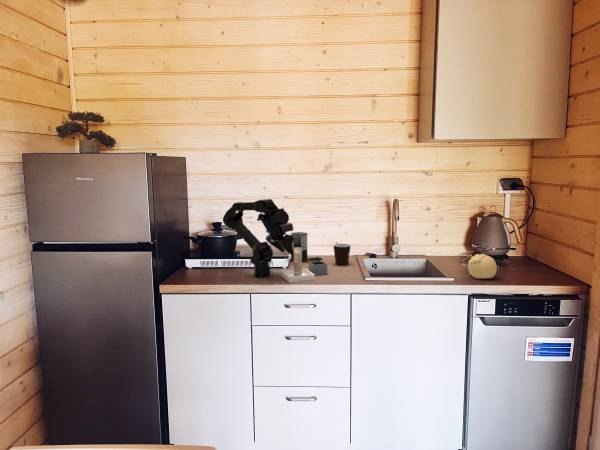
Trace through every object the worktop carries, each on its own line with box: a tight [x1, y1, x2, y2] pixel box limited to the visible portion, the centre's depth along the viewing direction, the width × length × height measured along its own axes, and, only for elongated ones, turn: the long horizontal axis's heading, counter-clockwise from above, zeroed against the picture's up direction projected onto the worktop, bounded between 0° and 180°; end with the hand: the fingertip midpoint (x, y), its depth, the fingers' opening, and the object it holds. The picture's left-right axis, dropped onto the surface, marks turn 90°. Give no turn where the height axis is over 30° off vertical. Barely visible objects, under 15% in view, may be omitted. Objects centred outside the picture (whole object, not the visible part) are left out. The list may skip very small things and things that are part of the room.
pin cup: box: [308, 260, 328, 277], centre depth 210 cm, size 7×7×5 cm
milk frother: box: [290, 231, 323, 263], centre depth 235 cm, size 14×16×15 cm
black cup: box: [333, 243, 351, 267], centre depth 228 cm, size 12×9×10 cm
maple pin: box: [293, 247, 303, 276], centre depth 201 cm, size 4×4×13 cm
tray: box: [280, 268, 316, 283], centre depth 202 cm, size 12×12×2 cm
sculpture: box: [467, 253, 498, 279], centre depth 199 cm, size 12×12×11 cm
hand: (288, 253), depth 206 cm, fingers open, 9 cm apart
